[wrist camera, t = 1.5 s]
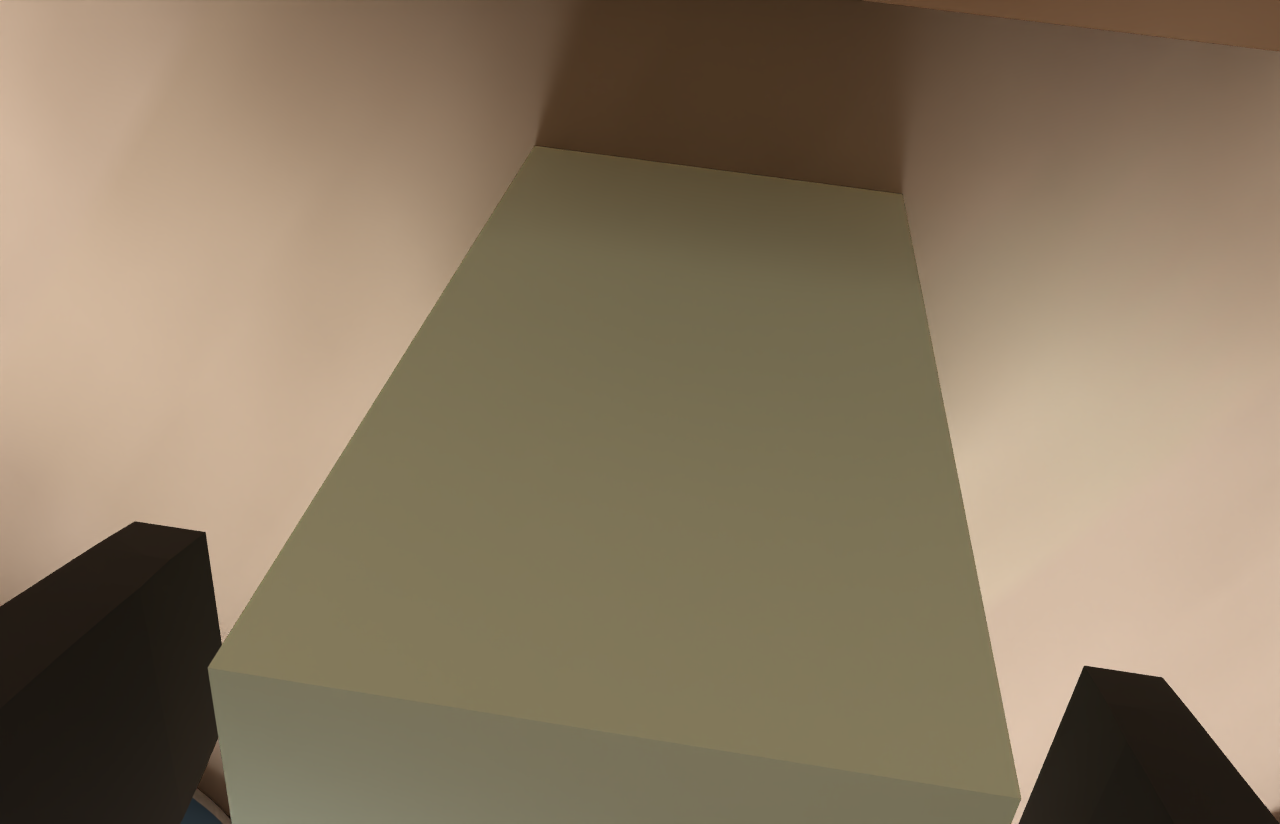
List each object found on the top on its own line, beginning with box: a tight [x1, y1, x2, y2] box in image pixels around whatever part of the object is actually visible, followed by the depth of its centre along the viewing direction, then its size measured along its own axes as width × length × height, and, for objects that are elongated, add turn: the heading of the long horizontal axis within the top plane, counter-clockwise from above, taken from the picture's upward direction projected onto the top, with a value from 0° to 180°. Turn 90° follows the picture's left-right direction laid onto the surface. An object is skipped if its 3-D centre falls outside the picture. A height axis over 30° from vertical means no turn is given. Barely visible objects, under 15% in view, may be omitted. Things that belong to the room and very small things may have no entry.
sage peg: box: [208, 146, 1021, 824], centre depth 11 cm, size 4×4×9 cm
